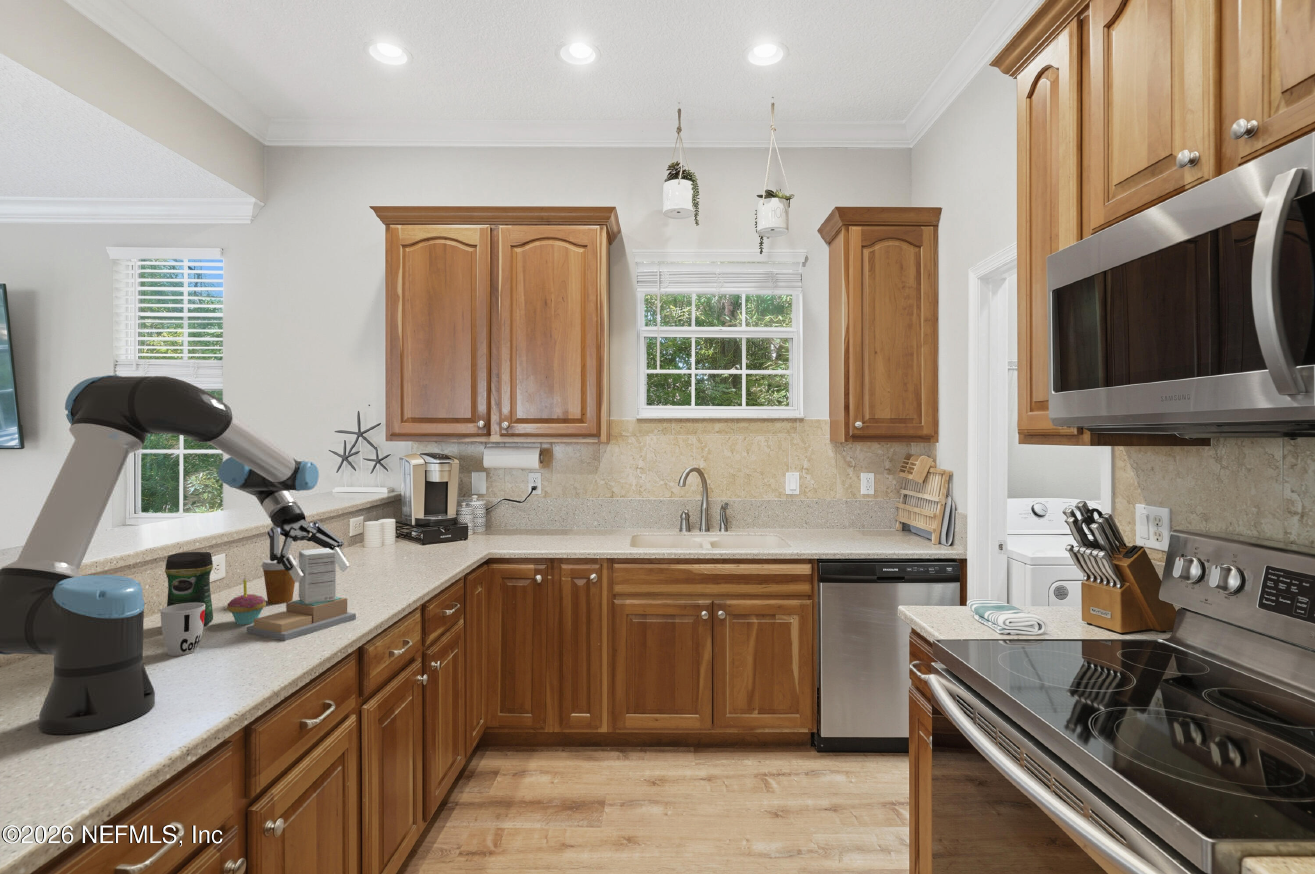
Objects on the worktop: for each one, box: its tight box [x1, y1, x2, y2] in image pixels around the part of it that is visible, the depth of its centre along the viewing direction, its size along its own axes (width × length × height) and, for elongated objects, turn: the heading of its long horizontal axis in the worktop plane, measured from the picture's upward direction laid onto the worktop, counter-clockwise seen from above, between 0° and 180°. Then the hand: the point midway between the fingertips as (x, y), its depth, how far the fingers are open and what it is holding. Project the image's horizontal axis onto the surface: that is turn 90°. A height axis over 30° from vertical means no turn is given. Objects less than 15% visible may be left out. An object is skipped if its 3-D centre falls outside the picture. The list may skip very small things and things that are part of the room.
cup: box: [159, 603, 205, 657], centre depth 145 cm, size 8×8×10 cm
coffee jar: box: [164, 551, 214, 626], centre depth 165 cm, size 10×8×19 cm
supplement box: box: [298, 547, 337, 604], centre depth 169 cm, size 7×7×13 cm
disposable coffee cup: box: [261, 556, 299, 605], centre depth 189 cm, size 10×10×12 cm
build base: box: [245, 596, 357, 642], centre depth 165 cm, size 20×14×6 cm
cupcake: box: [226, 577, 267, 626], centre depth 168 cm, size 9×8×12 cm
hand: (323, 573), depth 168 cm, fingers open, 13 cm apart
